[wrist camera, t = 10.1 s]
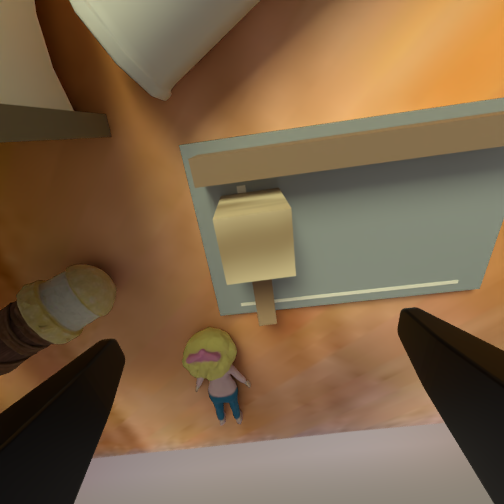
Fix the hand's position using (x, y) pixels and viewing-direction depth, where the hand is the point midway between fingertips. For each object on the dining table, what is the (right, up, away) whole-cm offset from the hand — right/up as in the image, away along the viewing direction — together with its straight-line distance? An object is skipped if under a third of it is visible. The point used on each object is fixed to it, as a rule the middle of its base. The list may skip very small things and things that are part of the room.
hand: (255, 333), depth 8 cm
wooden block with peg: (0, +2, +11) cm, 11 cm away
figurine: (-3, -10, +19) cm, 22 cm away
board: (+7, +5, +11) cm, 14 cm away
